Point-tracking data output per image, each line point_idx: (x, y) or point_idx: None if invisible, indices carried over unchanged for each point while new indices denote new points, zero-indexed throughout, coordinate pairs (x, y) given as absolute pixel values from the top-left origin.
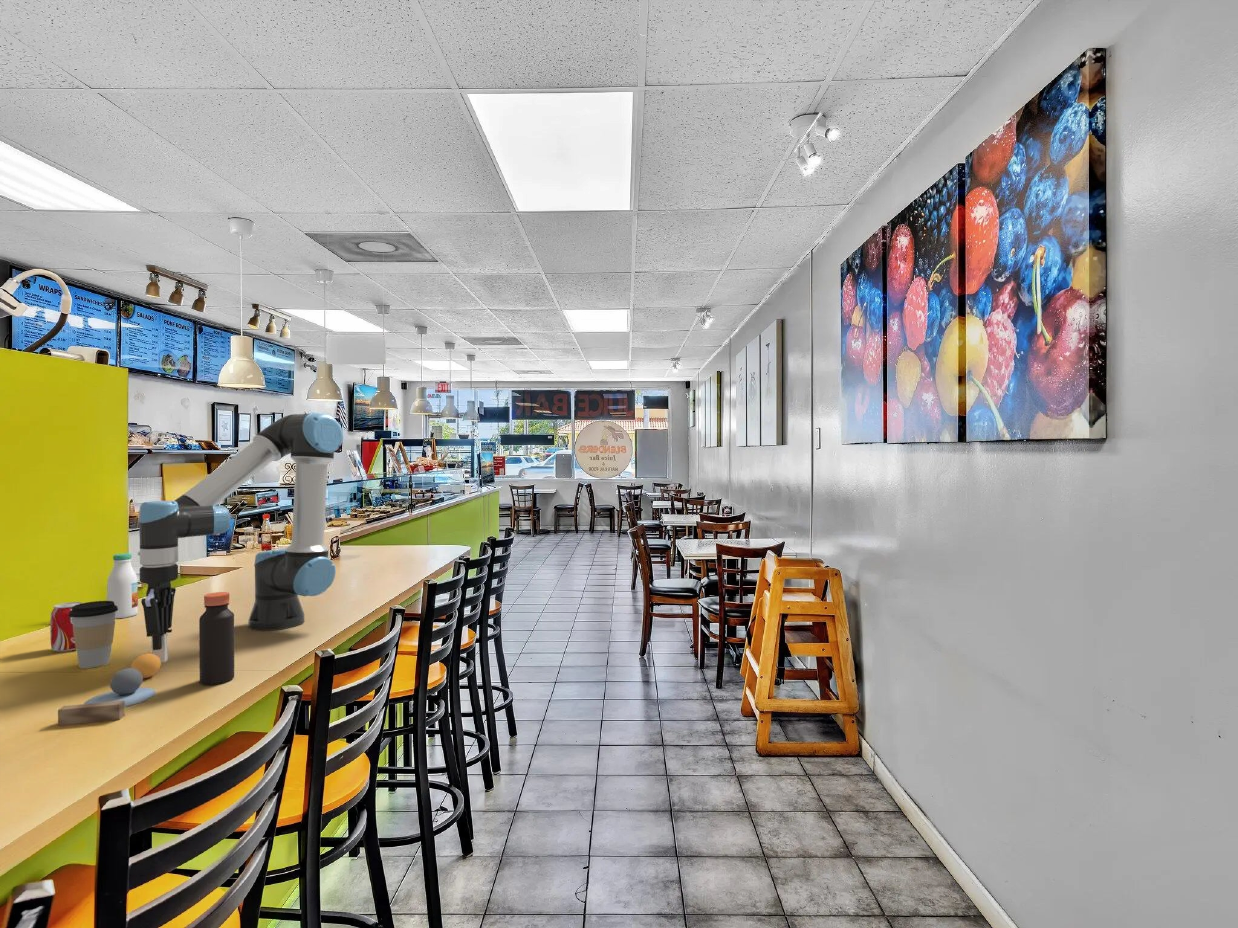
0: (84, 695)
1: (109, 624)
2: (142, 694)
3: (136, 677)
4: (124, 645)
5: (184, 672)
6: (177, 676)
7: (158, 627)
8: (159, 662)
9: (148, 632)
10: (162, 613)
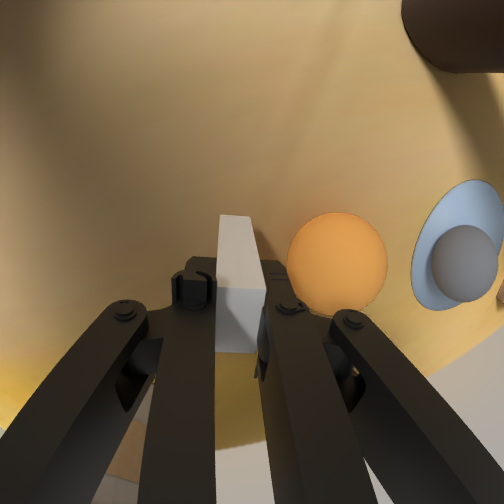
0: (395, 332)
1: (122, 476)
2: (471, 207)
3: (492, 241)
4: (12, 364)
5: (319, 120)
6: (360, 138)
7: (390, 352)
8: (353, 220)
9: (354, 374)
10: (344, 467)
